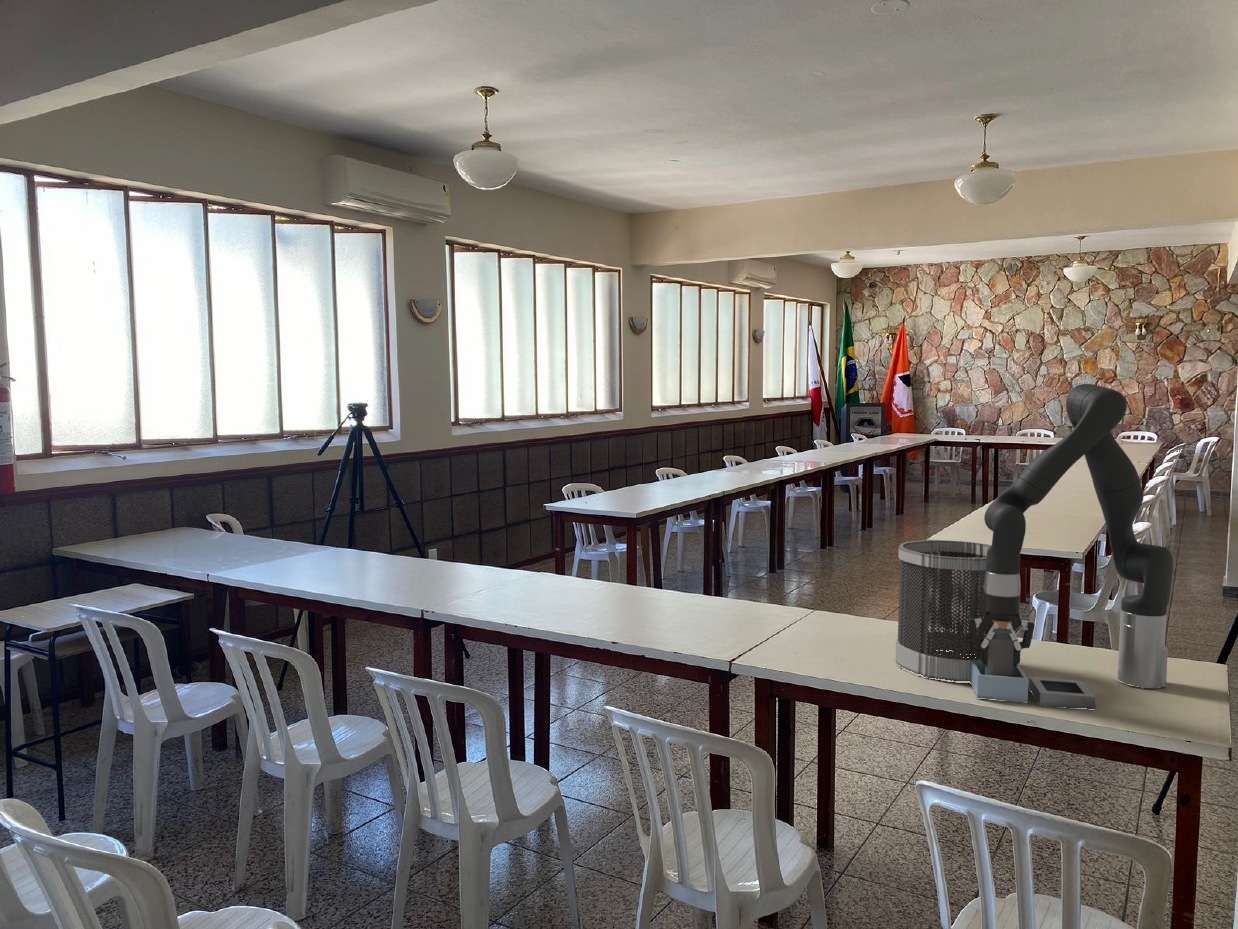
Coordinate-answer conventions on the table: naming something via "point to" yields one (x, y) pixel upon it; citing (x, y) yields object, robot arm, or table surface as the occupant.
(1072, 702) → the collar
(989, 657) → the bottle
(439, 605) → the table surface
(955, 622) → the wastebasket
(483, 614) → the table surface
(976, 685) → the bin
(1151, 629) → the robot arm
